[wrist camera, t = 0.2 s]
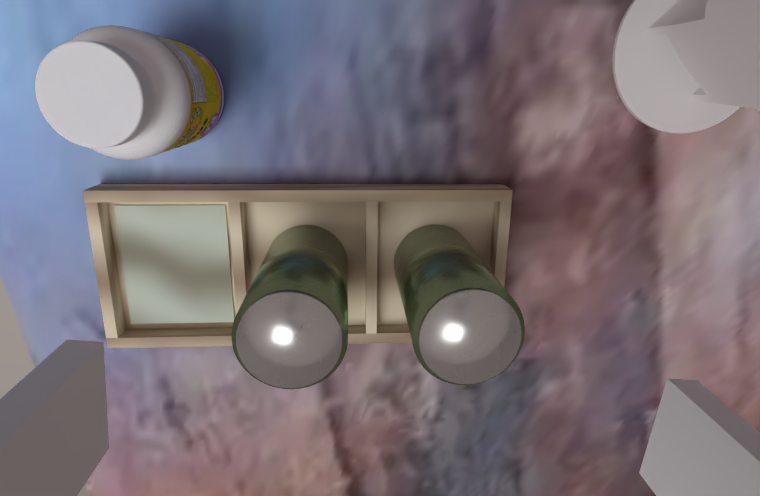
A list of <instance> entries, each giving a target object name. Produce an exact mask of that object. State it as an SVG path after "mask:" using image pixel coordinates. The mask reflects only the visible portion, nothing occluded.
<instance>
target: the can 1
mask: <svg viewBox="0 0 760 496" xmlns="http://www.w3.org/2000/svg"><path fill="white" fill-rule="evenodd" d="M347 344H348V259H347V254H346V251H345V249H344V247H343V245H342V243H341V242H340V241H339V239H338V238H337V237H336V236H335V235H333V234H332V233H331V232H329V231H328V230H326V229H324V228H321V227H318V226H313V225H299V226H295V227H292V228H289V229H287V230H285V231H284V232H282V233H281V234H280V235H278V236H277V237H276V238H275V240H274V241H273V242H272V244H271V246H270V248H269V250H268V252H267V254H266V256H265V258H264V260H263V262H262V264H261V266H260V268H259V270H258V272H257V274H256V276H255V278H254V280H253V282H252V284H251V286H250V288H249V290H248V292H247V294H246V296H245V298H244V300H243V302H242V304H241V306H240V308H239V310H238V312H237V315H236V317H235V319H234V322H233V326H232V346H233V349H234V352H235V355H236V357H237V359H238V361H239V362H240V364H241V365H242V366H243V368H244V369H245V370H246V371H247V372H248V373H249V374H250V375H251V376H253V377H254V378H256V379H257V380H259V381H261V382H263V383H265V384H267V385H270V386H273V387H277V388H283V389H299V388H304V387H309V386H312V385H314V384H317V383H319V382H321V381H322V380H324V379H326V378H327V377H328V376H330V375H331V374H332V373H333V372H334V371H335V370H336V369H337V367H338V366H339V365H340V363H341V361H342V360H343V358H344V355H345V353H346V349H347Z"/></svg>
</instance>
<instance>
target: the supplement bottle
mask: <svg viewBox="0 0 760 496" xmlns="http://www.w3.org/2000/svg"><path fill="white" fill-rule="evenodd" d="M35 92H36V98H37V102H38V105H39V108H40V110H41V112H42V114H43V115H44V117H45V119H46V120H47V121H48V123H49V124H50V125H51V126H52V127H53V128H54V129H55V130H56V131H57V132H58V133H59V134H60V135H62V136H63V137H64V138H66V139H67V140H69V141H71V142H73V143H75V144H78V145H81V146H84V147H88V148H91V149H93V150H94V151H96V152H99V153H101V154H103V155H106V156H109V157H113V158H118V159H126V160H133V159H142V158H146V157H150V156H153V155H156V154H159V153H162V152H165V151H168V150H171V149H174V148H177V147H180V146H183V145H186V144H189V143H192V142H194V141H196V140H198V139H200V138H202V137H204V136H205V135H206V134H208V133H209V132H210V131H211V130H212V129H213V128H214V126H215V125H216V124H217V122H218V120H219V118H220V116H221V113H222V110H223V104H224V92H223V86H222V82H221V79H220V77H219V75H218V73H217V71H216V69H215V68H214V66H213V65H212V63H211V62H210V61H209V60H208V59H207V58H206V57H205V56H204V55H203V54H202V53H200V52H199V51H197V50H196V49H194V48H192V47H191V46H188V45H186V44H184V43H181V42H177V41H174V40H171V39H167V38H163V37H160V36H156V35H153V34H149V33H146V32H142V31H139V30H136V29H132V28H128V27H123V26H100V27H95V28H91V29H89V30H86V31H84V32H82V33H80V34H78V35H77V36H75V37H74V38H73V39H72V40H70V41H69V42H67V43H64V44H62V45H60V46H58V47H56V48H54V49H53V50H51V51H50V52H49V53H48V54H47V55H46V56H45V58H44V59H43V60H42V62H41V64H40V66H39V68H38V71H37V74H36V80H35Z"/></svg>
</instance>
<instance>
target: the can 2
mask: <svg viewBox="0 0 760 496" xmlns="http://www.w3.org/2000/svg"><path fill="white" fill-rule="evenodd" d="M394 272H395V276H396V280H397V284H398V288H399V292H400V296H401V300H402V304H403V308H404V312H405V316H406V319H407V323H408V327H409V331H410V335H411V339H412V343H413V347H414V350H415V353H416V356H417V358H418V360H419V362H420V363H421V365H422V366H423V367H424V368H425V369H426V370H427V371H428V372H429V373H430V374H431V375H433V376H434V377H436V378H438V379H440V380H442V381H444V382H448V383H451V384H457V385H471V384H477V383H481V382H484V381H487V380H489V379H492V378H494V377H495V376H497V375H499V374H500V373H502V372H503V371H504V370H505V369H506V368H507V367H509V366H510V364H511V363H512V362H513V361H514V360H515V358H516V356H517V355H518V353H519V351H520V349H521V346H522V343H523V340H524V331H525V327H524V320H523V316H522V313H521V311H520V308H519V307H518V305H517V304H516V302H515V301H514V300H513V298H512V297H511V296H510V295H509V293H508V292H507V291H506V289H505V288H504V287H503V286H502V284H501V283H500V282H499V281H498V279H497V278H496V277H495V275H494V274H493V273H492V272H491V270H490V269H489V268H488V267H487V265H486V264H485V263H484V261H483V260H482V259H481V258H480V256H479V255H478V254H477V253H476V251H475V250H474V249H473V248H472V246H471V245H470V244H469V242H468V241H467V240H466V239H465V237H464V236H463V235H462V234H461V233H459V232H458V231H457V230H455V229H453V228H451V227H448V226H445V225H440V224H431V225H425V226H422V227H419V228H417V229H415V230H413V231H412V232H410V233H409V234H408V235H406V236H405V237H404V239H403V240H402V241H401V242H400V244H399V246H398V247H397V250H396V252H395V256H394Z"/></svg>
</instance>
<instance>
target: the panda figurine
mask: <svg viewBox="0 0 760 496" xmlns="http://www.w3.org/2000/svg"><path fill="white" fill-rule="evenodd" d="M612 67H613V76H614V81H615V85H616V88H617V91H618V94H619V96H620V98H621V100H622V102H623V103H624V105H625V106H626V108H627V109H628V110H629V111H630V113H631V114H632V115H633V116H634V117H635V118H637V119H638V120H639V121H641V122H642V123H644V124H645V125H647V126H649V127H651V128H653V129H656V130H659V131H664V132H669V133H691V132H696V131H701V130H704V129H707V128H709V127H712V126H714V125H716V124H718V123H720V122H722V121H723V120H725V119H726V118H728V117H729V116H731V115H732V114H733V113H735V112H736V111H737V110H738V109H739V108H740V107H747V108H754V109H756V110H757V111H759V112H760V0H633V2H632V3H631V4H630V6H629V8H628V9H627V11H626V13H625V15H624V17H623V18H622V20H621V23H620V25H619V28H618V31H617V34H616V37H615V42H614V47H613V56H612Z"/></svg>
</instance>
